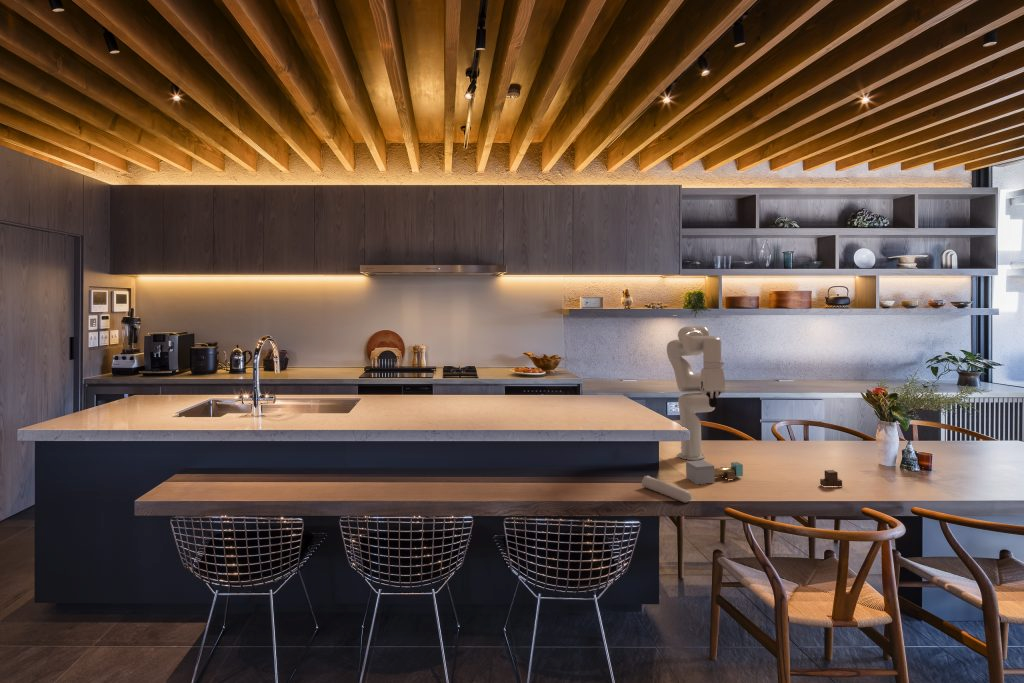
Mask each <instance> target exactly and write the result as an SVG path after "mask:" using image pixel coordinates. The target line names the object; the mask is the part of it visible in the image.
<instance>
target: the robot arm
mask: <svg viewBox="0 0 1024 683" xmlns="http://www.w3.org/2000/svg"><path fill="white" fill-rule="evenodd" d="M677 332H678V333H677V337H678V338H677V339H673V340H671V341H669V342H668V343H667V345H666V354H667V355H666V356H667V358H668V360H669V362H670V365H671V366H672V368H673V373H674V377H675V382H676V386H677V389H678V391H679V392H680V393H684V394H680V395H679V397H678V399H677V403H678V404H677V405H678V410H679V416H680V417H679V418H680V427H681V426H682V427H685V428H687V429H688V430H689V431H690V433H691V438H690V440H686V441H681V440H680V444H681V445H680V449H681V451H680V452H679V453H678V454H677V456H678V458H680V459H681V458H682V460H686V459H687V460H686V461H697V460H704V459H705V457H706V454H704V453H702V425H701V423H702V422H701V419H700V418H699V417H698V416H697V415H696V414H697V413H698V414H699V413H709V412H710V413H711V412H713V411H714V410H715V409H716V408H717V405H718V399H719V396H720V395H721V394H724V393H725V392H726V391H725V389H726V380H725V379H726V378H725V372H724V369H723V368H722V367H723V366H724V364H725V363H724V362H723V361H722V340H721V337H718V336H717V337H716V336H715V335H710V332H709V330H708V328H707V327H705V326H704V325H695V326H684V327H682V328H680V329H679V330H678V331H677ZM702 353H703V354H702ZM701 354H702V356H703V357H702V358H703V361H702V364H703V368H701V371H700V373H695V372H693V369H692V366H691V364H690V363H689V362H688V361H687V360H686V359H685V358H684V357H689V356H691V357H693V356H700V355H701Z"/></svg>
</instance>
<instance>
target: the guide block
mask: <svg viewBox="0 0 1024 683" xmlns="http://www.w3.org/2000/svg"><path fill="white" fill-rule="evenodd" d="M726 467H727V466H721V467H719V468H726ZM723 477H725V478H727V479H735V480H736V476H735V471H727V476H723Z"/></svg>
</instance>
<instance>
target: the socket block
mask: <svg viewBox="0 0 1024 683" xmlns="http://www.w3.org/2000/svg"><path fill="white" fill-rule="evenodd" d="M714 469H715V465H714V464H712V463H710V462H708V461H706V460H704V459H700V460H686V461H685V473H686V474H685V477H686V478H685V479H687V478H688V479H689V480H688V479H687V480H688V481H690V480H691V481H692V482H691V481H690V482H691V483H693V482H694V483H693V484H694V485H696V484H697V485H696V486H699V485H698V484H701V485H707V484H706V483H712V484H715V483H714V482H715V481H716V480H715V478H716V477H714Z"/></svg>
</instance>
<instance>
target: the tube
mask: <svg viewBox="0 0 1024 683" xmlns="http://www.w3.org/2000/svg"><path fill="white" fill-rule="evenodd" d="M641 487H643V488H645V489H649V490H650V491H654V492H656V493H658V492H659V493H658V494H661V495H663V494H664V496H666V497H668V496H669V498H671V499H674V500H677V501H679V502H682V503H688V502H690V501H691V500H692V494H691V492H690V491H688V490H687V489H684V488H682V487H679V486H676V485H673V484H671V483H667V482H665V481H663V480H660V479H657V478H654V477H651V476H650V475H643V478H642V480H641Z"/></svg>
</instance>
